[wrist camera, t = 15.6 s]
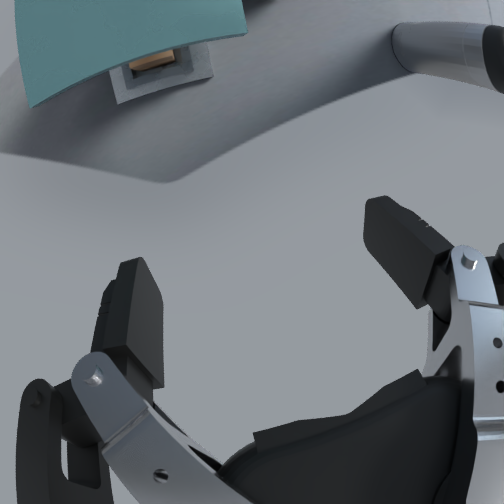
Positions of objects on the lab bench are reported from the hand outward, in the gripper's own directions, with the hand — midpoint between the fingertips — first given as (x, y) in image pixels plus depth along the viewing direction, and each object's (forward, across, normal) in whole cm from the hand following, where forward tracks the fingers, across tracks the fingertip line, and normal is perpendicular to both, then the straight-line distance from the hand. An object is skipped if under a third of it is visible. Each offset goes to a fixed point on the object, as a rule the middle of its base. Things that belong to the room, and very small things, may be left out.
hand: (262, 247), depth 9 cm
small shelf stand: (+28, +4, -13) cm, 31 cm away
